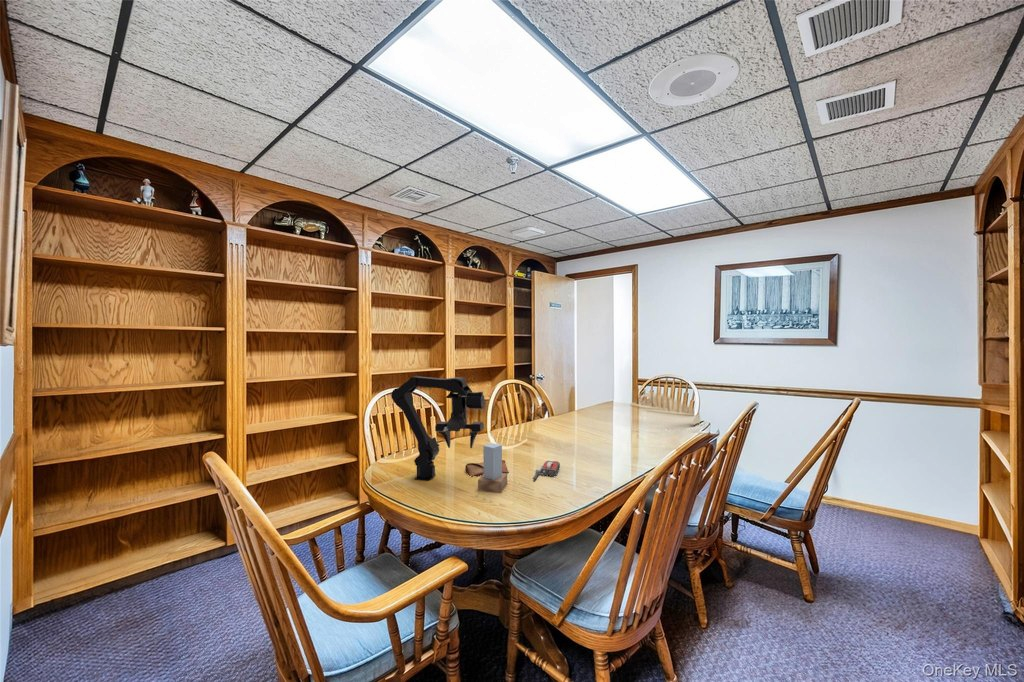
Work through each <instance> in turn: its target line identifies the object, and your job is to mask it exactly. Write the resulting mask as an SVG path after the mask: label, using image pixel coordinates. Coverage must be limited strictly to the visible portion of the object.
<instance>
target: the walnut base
mask: <svg viewBox="0 0 1024 682" xmlns="http://www.w3.org/2000/svg"><path fill="white" fill-rule="evenodd" d="M507 485H508V473H502V477H499V478H497V479H495V480H492V479H488V478H485V477H484V474H483V475H482V476H479V478H478V479H477V491H478V490H479V492H488V491H489V492H490V493H499V492H501V493H502V492H503V491H504V490H505V488H506V486H507Z"/></svg>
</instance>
